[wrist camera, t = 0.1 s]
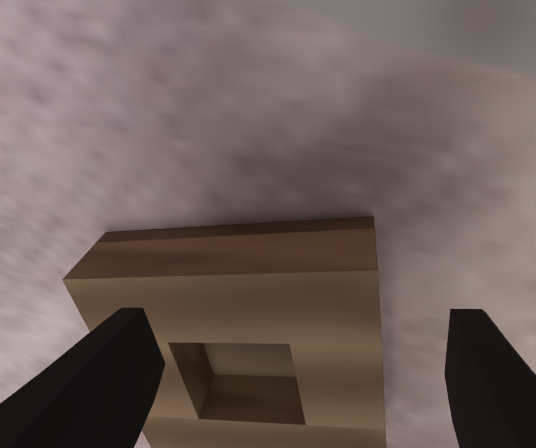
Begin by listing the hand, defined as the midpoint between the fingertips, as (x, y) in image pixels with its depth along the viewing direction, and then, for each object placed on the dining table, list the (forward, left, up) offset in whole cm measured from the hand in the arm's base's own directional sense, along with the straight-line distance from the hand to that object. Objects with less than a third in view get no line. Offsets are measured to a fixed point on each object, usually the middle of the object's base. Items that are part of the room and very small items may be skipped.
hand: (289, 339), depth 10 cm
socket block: (-10, +5, -10) cm, 15 cm away
